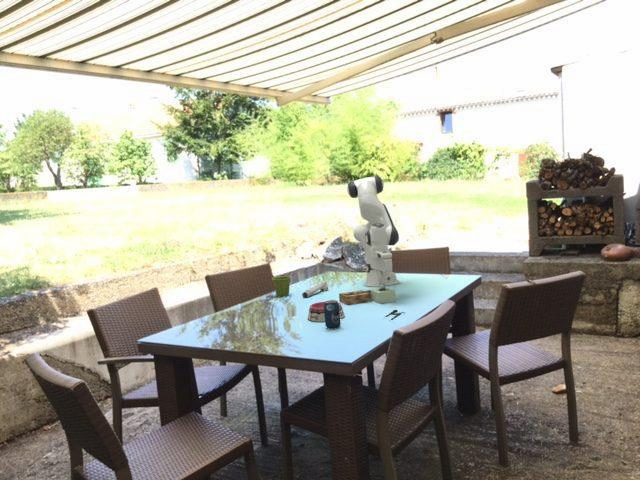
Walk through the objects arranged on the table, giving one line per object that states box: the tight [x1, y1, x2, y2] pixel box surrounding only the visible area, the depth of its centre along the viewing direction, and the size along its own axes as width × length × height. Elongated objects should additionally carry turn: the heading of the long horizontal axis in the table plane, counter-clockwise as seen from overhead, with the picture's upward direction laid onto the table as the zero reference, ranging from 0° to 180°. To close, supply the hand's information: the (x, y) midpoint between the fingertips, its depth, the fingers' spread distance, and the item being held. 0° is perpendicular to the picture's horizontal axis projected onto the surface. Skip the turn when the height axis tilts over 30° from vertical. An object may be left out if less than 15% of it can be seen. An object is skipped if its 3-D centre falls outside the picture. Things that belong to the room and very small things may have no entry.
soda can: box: [324, 299, 341, 330], centre depth 240 cm, size 7×7×12 cm
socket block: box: [338, 289, 372, 306], centre depth 293 cm, size 14×12×4 cm
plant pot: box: [271, 275, 292, 298], centre depth 326 cm, size 12×12×11 cm
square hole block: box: [370, 287, 397, 305], centre depth 288 cm, size 10×10×6 cm
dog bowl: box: [307, 301, 346, 323], centre depth 260 cm, size 18×19×7 cm
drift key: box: [357, 288, 375, 294], centre depth 295 cm, size 12×2×5 cm, turn 109°
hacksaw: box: [384, 309, 406, 321], centre depth 250 cm, size 24×10×2 cm, turn 148°
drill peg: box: [378, 270, 387, 291], centre depth 287 cm, size 4×4×14 cm
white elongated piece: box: [301, 280, 329, 299], centre depth 324 cm, size 5×7×25 cm
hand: (381, 278), depth 287 cm, fingers closed on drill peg, 4 cm apart
